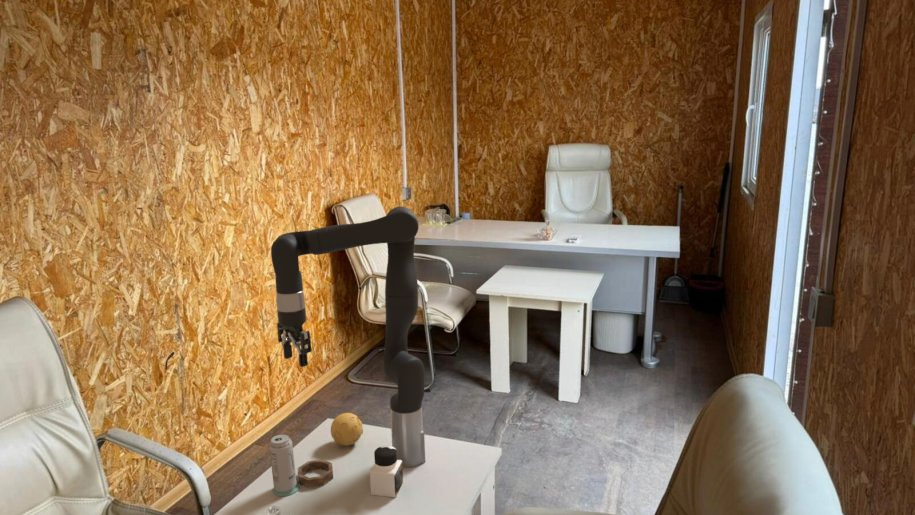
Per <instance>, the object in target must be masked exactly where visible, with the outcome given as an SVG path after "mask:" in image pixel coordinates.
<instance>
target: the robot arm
mask: <svg viewBox="0 0 915 515" xmlns="http://www.w3.org/2000/svg"><path fill="white" fill-rule="evenodd" d="M419 225H420V224H419V221H418V218H417V216H416V214H415V213H414V211H412V210H411V209H410V208H408V207H406V206H395V207H393V208H391V209H390V210H389V211H388V213H387V214H386V215H384V216H381V217H379V218H376V219H373V220H369V221H364V222H363V221H362V222H357V223H343V224H335V225H329V226H323V227H319V228H314V229H311V230H302V231H301V230H299V231H293V232H286V233H282V234H280V235H279V236H278V237H277V238H276V239H275V240H274V241H273V243H272V244H271V248H270V257H271V262H272V267H273V272H274V276H275V290H276V292H275V293H276V296H275V297H276V298H275V299H276V312H277V323H276V328H277V340H278V343H281V346H282V347H283V358H284V359H286V360H287V359H291V358H292V357H293V349H292V348H295V349H296V350H297V353H298V362H299V364H298V365H299V367H300V368H304V367H306V366H308V364H309V361H308V354H309V353H311V352H312V351H313V350H312V343H311V342H312V341H311V332H310V331H309V330H307V331H306V330H305V331H304V329H303V325H304V324H305V323H306V322H307V314H306V313H307V311H306V302H305V301H306V299H305V292H304V288H303V276H302V275H303V274H302V272H301V270H300V264H299V263H300V262H299V257H300V256H305V255H314V256H318V255H324V254H329V253H334V252H339V251H345V250H350V249H352V248H357V247H358V248H359V247H362V246H370V245H377V244H387V264H386V265H387V266H386V275H385V288H384V297H385V298H384V300H385V301H384V302H385V303H384V304H385V305H384V307H385V341H384V352H383V363H382V364H383V365H382V366H383V373H384V376H385V377H386V378H387V379H388V380H389V381H390V382H391V383H393V384H396V385H397V392H396V393H394V394H393V395H391V397H390V399H389V409H390V411H389V412H390V427H391V428H390V430H391V446H392V447H394V448H395V449H396V451H397V460H402V468H413V467H417V466H419V465H420V464H422V463H426V447H425V446H426V441H425V431H424V428H423V427H424V426H423V399H424V397H425V383H426V382H425V374H426V372H425V366H424V363H423V361H422V360H421V359H420V358H418V357H417V356H414V355H412V354H410V353H409V350H408V349H409V348H408V333H409V330H410V328H411V325H412V324H413V322H414V320H415V318H416V316H417V313H418V308H419V288H418V287H419V286H418V285H419V284H418V276H417V268H416V263H415V240H416V235H418V232H419V227H420V226H419ZM292 344H293V347H292Z"/></svg>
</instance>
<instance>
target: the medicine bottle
mask: <svg viewBox="0 0 915 515" xmlns="http://www.w3.org/2000/svg"><path fill="white" fill-rule="evenodd" d="M373 456H374V464H373V466H372V467H371V469H370V471H369V481H370V482H369V484H370V495H372V496H379V497H380V496H381V497H389V498H396V497H397V495H398V494H399V492H400V490H401V488H402V486H403V484H404V474H403V467H402V460H397V451H396V449H395V448H394V447H392V445H382V446H379V447H377V448H376V449H375V450H374V452H373Z"/></svg>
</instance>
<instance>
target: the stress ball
mask: <svg viewBox="0 0 915 515" xmlns="http://www.w3.org/2000/svg"><path fill="white" fill-rule="evenodd" d="M363 433H364V427H363V421H362V419H361V418H360V417H359V416H358V415H356V414H354V413H351V412H343V413H340V414H339V415H337V416H336V417H335V418H333V421H332V423H331V425H330V435H331V438H332V439H333V440H334V442H336V444H339V446H340V445H341V446H345V447H350V446H352V445H354V444H355V443H357V442H358V441H359V439H361V436H362V435H363Z"/></svg>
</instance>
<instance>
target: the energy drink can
mask: <svg viewBox="0 0 915 515" xmlns="http://www.w3.org/2000/svg"><path fill="white" fill-rule="evenodd" d="M268 447H269V455H270V456H269V457H270V465H271V473H272V482H273V488H274V489H275V490H276V491H277V492H278V493H288V492H290V491H292V490H293V489H294V488H295V486H296V481H297V475H296V468H295V467H296V465H295V458H294V457H295V455H294V448H293V447H294V446H293V441H292V439H291V438H290V435H288V434H286V433H285V434H277V435H275V436H273V437H272V438H271V439H270V443H269V446H268Z"/></svg>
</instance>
